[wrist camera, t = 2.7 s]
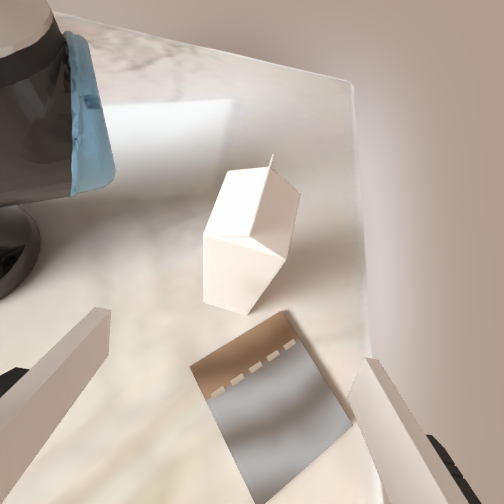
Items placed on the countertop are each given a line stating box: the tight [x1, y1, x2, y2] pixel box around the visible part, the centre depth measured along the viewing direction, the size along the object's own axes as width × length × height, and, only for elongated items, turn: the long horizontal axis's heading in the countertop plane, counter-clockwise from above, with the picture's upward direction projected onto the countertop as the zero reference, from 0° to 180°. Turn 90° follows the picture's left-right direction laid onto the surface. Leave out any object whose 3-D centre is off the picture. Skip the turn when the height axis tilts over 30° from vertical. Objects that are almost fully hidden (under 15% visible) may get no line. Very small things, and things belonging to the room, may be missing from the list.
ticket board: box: [190, 311, 353, 504], centre depth 31 cm, size 15×13×1 cm
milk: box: [203, 154, 300, 315], centre depth 26 cm, size 6×6×22 cm
